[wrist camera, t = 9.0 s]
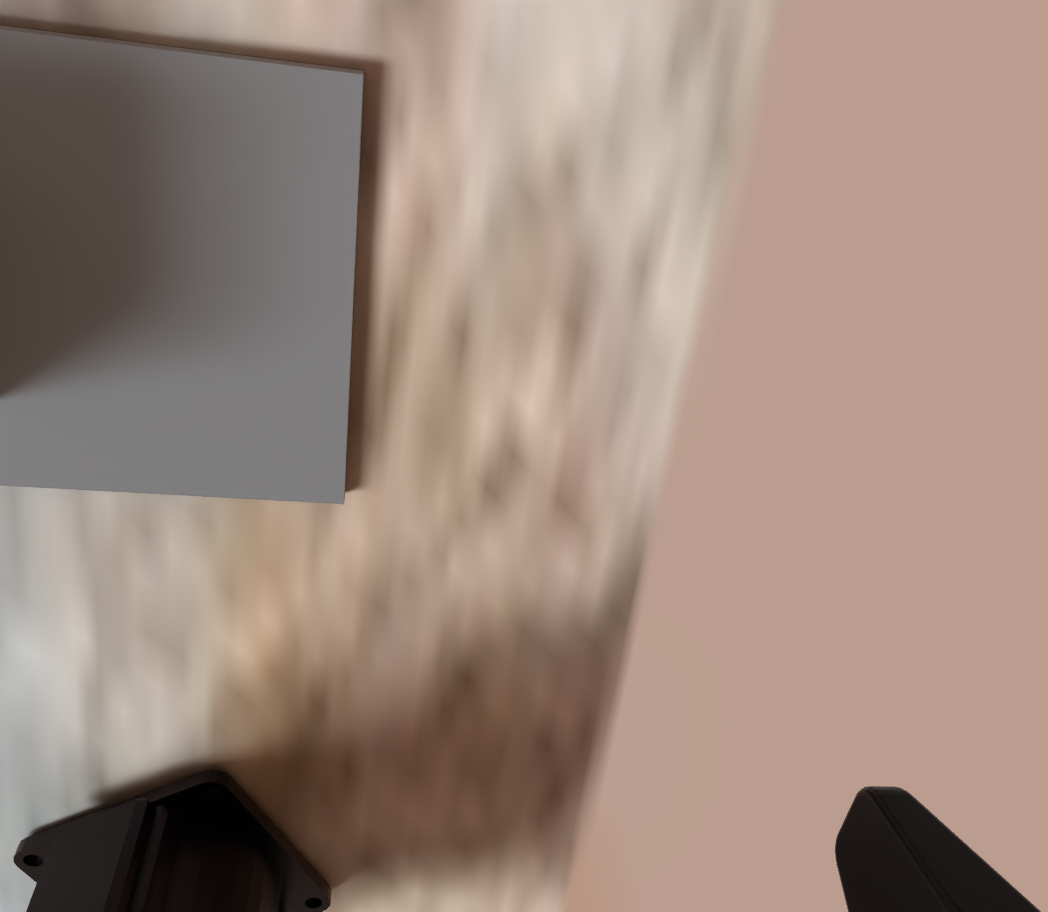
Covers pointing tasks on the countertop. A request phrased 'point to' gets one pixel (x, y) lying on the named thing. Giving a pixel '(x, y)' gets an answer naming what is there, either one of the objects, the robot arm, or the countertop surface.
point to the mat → (175, 269)
